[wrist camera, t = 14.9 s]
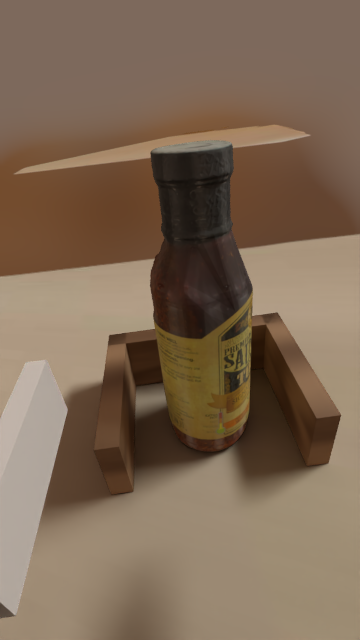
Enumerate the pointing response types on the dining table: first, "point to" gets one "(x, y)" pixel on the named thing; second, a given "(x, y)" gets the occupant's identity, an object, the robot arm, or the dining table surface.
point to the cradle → (266, 352)
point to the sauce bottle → (201, 296)
